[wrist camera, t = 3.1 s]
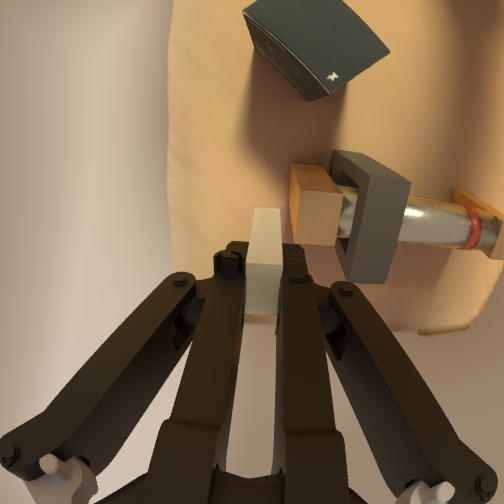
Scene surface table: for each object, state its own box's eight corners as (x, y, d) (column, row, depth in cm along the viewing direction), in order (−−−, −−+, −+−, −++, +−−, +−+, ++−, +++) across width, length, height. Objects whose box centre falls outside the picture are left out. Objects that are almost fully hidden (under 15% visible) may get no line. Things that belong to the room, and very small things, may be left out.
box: (350, 71, 21) (394, 53, 12) (307, 102, 23) (330, 98, 14) (295, 15, 18) (307, -33, 9) (251, 46, 20) (238, 10, 11)
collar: (324, 222, 28) (347, 282, 19) (333, 149, 24) (370, 175, 15) (351, 224, 28) (384, 284, 19) (362, 153, 24) (411, 182, 15)
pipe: (288, 201, 28) (294, 244, 20) (291, 162, 26) (300, 189, 18) (462, 222, 27) (505, 261, 19) (470, 192, 25) (518, 225, 17)
